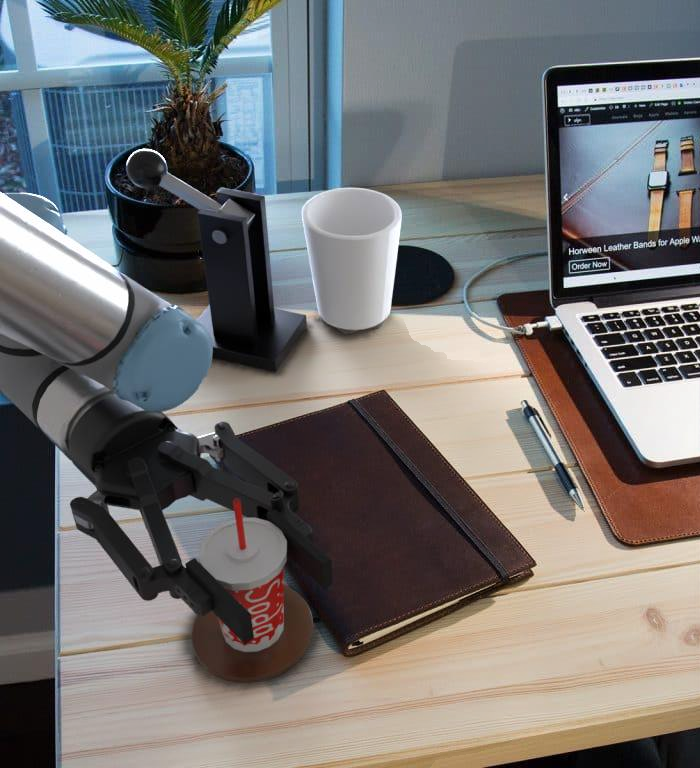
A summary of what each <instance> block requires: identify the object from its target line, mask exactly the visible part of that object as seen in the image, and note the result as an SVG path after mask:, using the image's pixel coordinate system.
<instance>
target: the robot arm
mask: <svg viewBox="0 0 700 768" xmlns="http://www.w3.org/2000/svg"><path fill="white" fill-rule="evenodd" d="M67 235H68V227H67V226H65V223H64V221H63V217H62V215H61V212H60V211H59V208H58V207H57V206H56V204H55V203H53V201H51V200H50V199H47V198H46V197H44V196H41V195H38V194H34V193H28V192H6V193H2V192H0V393H1V395H3V396H4V397H6V398H7V399H9V400H10V402H11V403H13V404H14V406H15V407H16V408H17V409H18V410H20V412H21V413H23V414H24V415H25V416H26V418H28V419H29V420H30V421H31V422H32V423H33V424H34V426H36V427H37V428H38V429H39V430H40V431H41V433H43V434H44V435H45V436H46V438H47V439H48V440H50V441H51V443H53V445H55V447H56V448H57V449H58V450H59V451H60V452H61V453H62V454H63V455H64V456H65V457H66V458H67V459H68V460H69V461H71V462H72V464H73V465H74V466H75V467H76V468H77V470H79V472H80V473H81V474H83V476H84V477H85V478H86V479H87V480H88V481H89V482H90V483H91V484H92V485H93V486H94V487H95V489H96V490H95V491H94V492H93V493H92V494H90V495H89V496H88V497H84V496H78V497H75V498H73V499H72V500H70V502H69V507H70V510H71V514H72V517H73V521H74V523H75V527H76V530H77V531H79V532H81V533H83V534H85V535H86V536H88V537H91V538H92V539H95V540H96V542H98V544H99V545H100V547H101V548H102V549H103V550H104V552H105V553H106V555H107V556H108V557H109V558H110V560H111V561H112V562H113V563H114V564H115V566H116V567H117V569H118V570H119V571H120V572H121V573H122V575H123V576H124V578H125V579H126V581H127V582H128V583H129V584H130V586H131V587H132V588H133V589H134V591H135V592H136V593H137V594H138V595H139V598H141V600H143V601H146V602H150V601H153V600H155V599H156V598H158V596H159V594H162V593H164V592H169V596H170V597H171V598H173V599H175V600H180V599H181V600H182V601H183V602H184V604H186V605H187V607H189V608H190V609H191V610H192V611H193V613H194V614H196V615H200V616H204V615H206V614H207V613H209V612H210V611H213V612H214V614H215V615H216V616H217V617H218V618H219V619H220V620H221V621H222V622H223V623H224V624H225V625H226V626H227V627H228V628H229V629H230V630H231V631H232V632H233V633H234V634H235V635H236V636H237V637H238V638H239V639H240V640H241V641H242V642H243V643H244V644H246V643H248V642H249V641H251V640H252V639H254V634H253V627H252V620H251V614H250V613H249V612H248V611H247V610H246V609H245V608H244V607H243V606H242V605H241V604H240V603H239V602H238V601H237V600H236V599H235V598H234V597H233V596H232V595H231V594H230V593H229V592H228V591H227V590H226V589H225V588H224V587H223V586H222V585H221V584H220V583H219V582H218V581H217V580H216V579H215V578H214V577H213V576H212V575H211V574H210V573H209V572H208V571H207V570H206V569H205V568H204V567H203V566H202V565H201V564H200V562H199V560H197V559H196V557H193V558H191V559H190V560H188V561H187V562H185V563H184V565H185V566H184V565H183V561H182V557H181V555H180V552H179V550H178V548H177V545H176V543H175V540H174V537H173V534H172V532H171V529H170V527H169V525H168V521H167V520H166V516H165V513H164V512H163V511H164V510H165V509H167V508H169V507H170V506H172V504H173V503H174V502H176V501H178V500H181V499H184V498H187V497H188V496H190V497H192V498H195V499H197V500H199V501H202V502H204V501H206V500H209V501H210V502H212V503H215V504H217V505H220V506H221V507H223V508H226V509H228V510H230V511H233V512H235V511H234V504H233V500H234V499H235V498H239V499H240V502H241V510H242V516H244V517H245V518H254V517H255V518H258V519H262V520H266V521H269V522H271V523H272V524H274V525H275V526H276V527H278V528H279V529H280V530H281V531H282V533H283V535H284V537H285V539H286V541H287V558H289V559H290V560H291V561H292V562H293V563H295V564H296V566H298V568H300V569H301V570H302V571H303V572H305V573H306V575H307V576H309V577H310V578H311V579H312V580H313V581H314V582H315V583H316V584H317V585H319V587H321V588H322V589H323V590H326V589H327V588H330V587H331V586H332V585H334V582H333V564H332V559H331V558H330V557H329V556H328V555H327V554H326V553H324V551H322V550H321V549H320V548H319V547H318V546H317V545H316V544H314V536H313V535H314V534H313V533H314V532H313V530H312V528H311V526H310V525H309V524H307V522H305V521H304V520H303V519H302V518H301V517H300V516H298V514H296V513H295V512H297V511H299V509H300V499H299V498H300V495H299V485H298V482H297V480H295V479H294V478H293V477H291V476H290V475H288V474H287V473H285V471H283V470H281V469H280V468H279V467H277V466H276V465H275V464H273V463H272V462H270V461H269V460H268V459H267V458H265V457H264V456H263V455H262V454H260V453H259V452H257V451H255V450H254V449H253V448H252V447H251V446H249V445H247V443H245V442H244V441H243V440H241V439H239V438H238V437H237V435H236V434H235V432H234V430H233V428H232V426H231V424H230V423H229V422H227V421H219V422H217V423H216V424H215V425H214V432H210V433H208V434H204V435H201V436H198V437H197V436H196V435H195V434H193V433H191V432H186V431H183V430H181V429H179V428H178V426H177V425H176V424H175V423H174V422H173V421H172V419H170V417H169V416H168V415H166V414H165V412H166V411H170V410H172V409H175V408H177V407H179V406H181V405H183V404H184V403H186V402H187V401H189V399H190V398H191V397H192V396H194V394H195V393H196V392H197V391H198V390H199V387H200V385H201V384H202V383H203V380H204V379H205V378H206V377H207V375H208V373H209V370H210V368H211V366H212V361H213V358H212V355H213V346H212V340H211V337H210V335H209V333H208V331H207V329H206V328H205V327H204V326H203V325H202V324H201V323H200V322H198V321H197V319H195V318H194V317H192V316H191V315H190V314H187V312H186V311H185V309H183V308H181V307H179V306H178V305H176V304H171V303H170V302H168V301H166V300H165V299H163V298H162V297H160V296H158V295H157V294H155V293H153V292H151V291H150V290H148V288H145V286H143V285H141V284H140V283H138V282H137V281H136V280H133V279H132V278H131V277H129V276H127V275H126V274H124V273H122V272H121V271H119V270H117V268H116V267H114V266H112V264H109V262H107V261H105V260H103V259H102V258H100V257H99V256H97V255H96V254H94V253H93V252H92V251H90V250H88V249H87V248H85V247H83V245H81V244H79V243H78V242H76V241H75V240H73V239H72V238H71V237H68V236H67ZM202 454H209V455H210V456H211V457H213V458H215V461H216V462H220V463H221V462H222V461H223V462H224V465H226V467H227V468H228V469H230V470H231V471H232V472H233V473H234V474H236V475H237V476H239V477H240V478H239V477H237V476H235V475H232V474H231V473H227V472H226V471H223V470H221V469H220V468H219V469H218V468H217V467H214V466H213V465H212V463H211V462H210V461H209V460H208V459H206V458H204V457H202ZM109 506H110V507H117V508H122V509H128V510H129V509H130V510H134V511H135V510H136V511H139V513H140V517H141V518H142V521H143V525H144V527H145V530H146V531H147V533H148V536H149V539H150V541H151V544H152V546H153V550H154V552H155V555H156V557H157V560H158V563H159V565H157V566H152V565H151V563H150V562H149V561H148V559H147V558H145V556H144V555H143V554H142V552H141V551H140V550H139V549H138V547H137V546H136V545H135V544H134V542H133V541H132V540H131V539H130V538H129V536H128V535H127V534H126V532H125V531H124V529H123V528H121V526H120V525H119V524H118V522H117V521H116V520H115V519H114V518H113V516H112V515H111V513H110V510H109Z"/></svg>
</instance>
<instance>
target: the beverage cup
mask: <svg viewBox="0 0 700 768" xmlns="http://www.w3.org/2000/svg"><path fill="white" fill-rule="evenodd" d="M233 504H234V511H233V512H234V519H230V520H227V521H224V522H221V523H219V524H218V525H217V526H216V527H215V528H213V529H211V530H209V531H208V532H207V534H206V535H205V537H204V539H203V540H202V541H201V543H200V544H199V549H198V550H199V551H198V557H197V558H198V562H199V563H200V564H201V565H202V566H203V567H204V568H205V569H206V570H207V571H208V572H209V573H210V574H211V575H212V576H213V577H214V578H215V579H216V580H217V581H218V582H219V583H220V584H221V585H222V586H223V587H224V588H225V589H226V590H227V591H228V592H229V593H230V594H231V595H232V596H233V597H234V598H235V599H236V600H237V601H238V602H239V603H240V604H241V605H242V606H243V607H244V608H245V609H246V610H247V611H248V612H249V613H250V614H251V620H252V627H253V634H254V639H252V640H251V641H249V642H248V643H246V644H244V643H243V642H242V641H241V640H240V639H239V638H238V637H237V636H236V635H235V634H234V633H233V632H232V631H231V630H230V629H229V628H228V627H227V626H226V625H225V624H224V623H223V622H222V621H221V620H220V619H219V618H218V619H219V623H220V626H221V630H222V634H223V636H224V638H225V641H226V643H228V644H229V645H230V646H231V647H233V648H234V649H236V650H240V651H243V652H256V651H260V650H263V649H265V648H268V647H270V646H271V645H272V644H273V643H274V642H276V641H277V640H278V639H279V637H280V635H281V633H282V632H283V626H284V586H285V581H284V580H285V564H286V563H287V561H288V559H287V558H288V556H287V541H286V539H285V537H284V535H283V533H282V531H281V530H280V529H279V528H278V527H276V526H275V525H274V524H272V523H271V522H269V521H266V520H262V519H258V518H255V517H254V518H248V517H243V515H242V510H241V502H240V499H239V498H235V499H234V500H233Z"/></svg>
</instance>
